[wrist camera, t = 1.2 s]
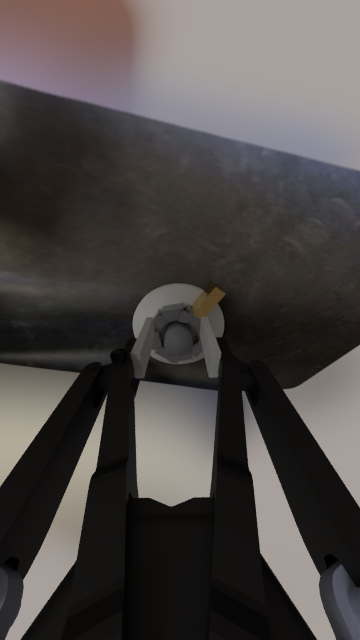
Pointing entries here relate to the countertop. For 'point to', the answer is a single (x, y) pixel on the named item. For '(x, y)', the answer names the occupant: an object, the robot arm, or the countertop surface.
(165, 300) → the housing
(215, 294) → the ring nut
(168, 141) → the countertop surface
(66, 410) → the robot arm
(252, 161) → the countertop surface
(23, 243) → the countertop surface
